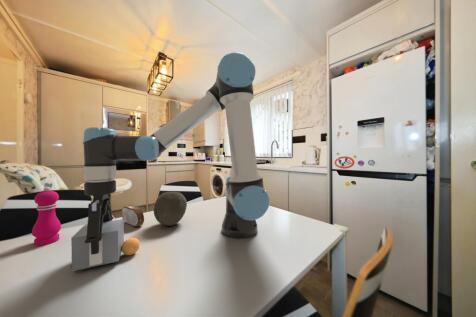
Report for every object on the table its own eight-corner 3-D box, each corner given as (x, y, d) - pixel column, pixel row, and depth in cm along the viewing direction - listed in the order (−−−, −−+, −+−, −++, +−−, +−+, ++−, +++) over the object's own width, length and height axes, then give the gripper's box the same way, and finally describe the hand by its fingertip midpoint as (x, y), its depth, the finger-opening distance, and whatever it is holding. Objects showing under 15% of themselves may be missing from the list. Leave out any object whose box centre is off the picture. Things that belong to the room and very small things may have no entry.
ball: (139, 249, 59) (140, 234, 60) (138, 256, 55) (139, 240, 55) (122, 251, 57) (123, 236, 57) (119, 259, 53) (120, 243, 53)
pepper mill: (46, 237, 67) (46, 185, 67) (66, 236, 68) (66, 185, 68) (25, 247, 60) (24, 188, 60) (48, 246, 61) (47, 188, 60)
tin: (144, 227, 78) (144, 208, 78) (137, 229, 75) (137, 209, 75) (127, 220, 86) (127, 203, 86) (120, 222, 83) (120, 204, 83)
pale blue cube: (123, 245, 60) (123, 219, 59) (118, 261, 50) (118, 230, 50) (85, 252, 55) (85, 224, 55) (71, 271, 46) (71, 237, 46)
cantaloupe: (186, 228, 76) (186, 194, 76) (150, 232, 72) (151, 196, 72) (186, 217, 90) (186, 188, 90) (156, 220, 86) (156, 189, 86)
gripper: (96, 176, 61) (96, 240, 61) (67, 187, 41) (68, 282, 41) (121, 175, 64) (122, 236, 65) (106, 185, 44) (107, 273, 44)
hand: (101, 254), depth 53 cm, fingers closed on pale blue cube, 10 cm apart
